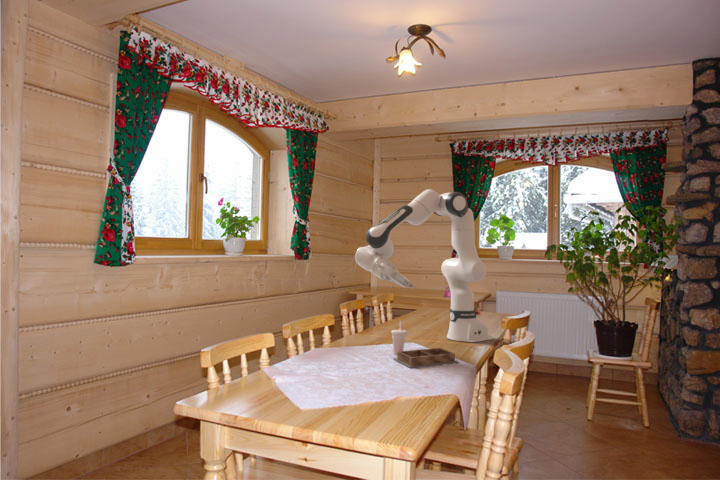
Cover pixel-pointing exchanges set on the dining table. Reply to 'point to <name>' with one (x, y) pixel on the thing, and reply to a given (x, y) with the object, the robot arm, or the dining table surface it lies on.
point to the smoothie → (398, 339)
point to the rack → (425, 356)
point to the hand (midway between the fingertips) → (408, 284)
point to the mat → (423, 365)
